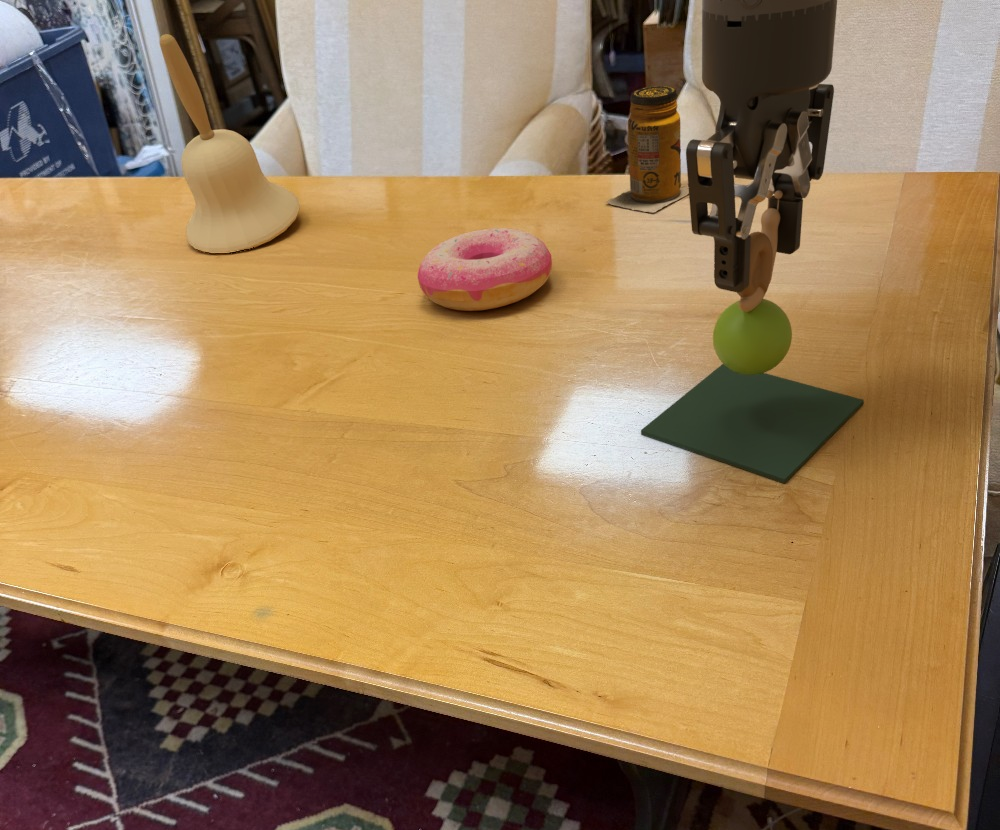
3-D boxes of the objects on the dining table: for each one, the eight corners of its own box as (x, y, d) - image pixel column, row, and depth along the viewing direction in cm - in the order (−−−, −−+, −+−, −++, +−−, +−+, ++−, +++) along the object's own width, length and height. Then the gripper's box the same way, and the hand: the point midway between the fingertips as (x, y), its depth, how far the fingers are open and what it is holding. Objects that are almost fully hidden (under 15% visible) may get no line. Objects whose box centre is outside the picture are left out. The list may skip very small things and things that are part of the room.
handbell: (320, 197, 123) (251, 0, 104) (279, 263, 113) (195, 58, 95) (220, 202, 127) (137, 13, 109) (172, 266, 117) (72, 70, 99)
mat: (724, 366, 76) (724, 362, 76) (863, 404, 69) (864, 399, 69) (640, 434, 70) (640, 429, 69) (784, 483, 62) (785, 479, 62)
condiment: (696, 190, 110) (696, 85, 103) (653, 214, 106) (650, 105, 99) (647, 182, 115) (644, 81, 107) (604, 205, 110) (598, 100, 103)
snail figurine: (803, 351, 68) (815, 191, 60) (775, 394, 63) (784, 228, 56) (733, 341, 70) (736, 186, 63) (701, 381, 66) (701, 221, 59)
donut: (577, 273, 95) (573, 226, 92) (507, 329, 87) (500, 280, 84) (474, 258, 102) (467, 215, 99) (399, 309, 94) (389, 263, 91)
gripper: (773, -30, 58) (762, 224, 68) (641, 22, 51) (651, 300, 61) (888, -32, 54) (858, 240, 64) (763, 25, 46) (752, 324, 56)
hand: (757, 268), depth 62 cm, fingers closed on snail figurine, 6 cm apart
